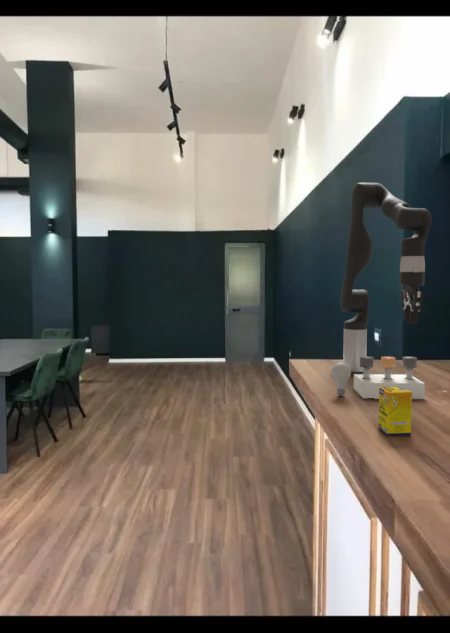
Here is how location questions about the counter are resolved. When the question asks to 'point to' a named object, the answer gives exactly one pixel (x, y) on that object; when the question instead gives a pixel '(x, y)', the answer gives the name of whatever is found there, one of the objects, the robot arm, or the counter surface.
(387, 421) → the supplement box
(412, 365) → the charcoal knob
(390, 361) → the middle terracotta knob
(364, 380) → the mounting board
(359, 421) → the counter surface
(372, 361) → the charcoal knob
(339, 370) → the lightbulb
